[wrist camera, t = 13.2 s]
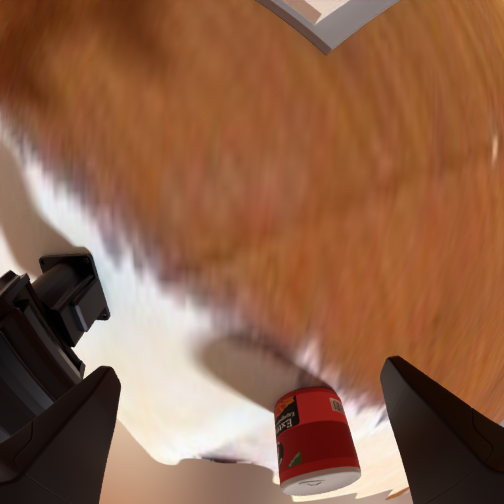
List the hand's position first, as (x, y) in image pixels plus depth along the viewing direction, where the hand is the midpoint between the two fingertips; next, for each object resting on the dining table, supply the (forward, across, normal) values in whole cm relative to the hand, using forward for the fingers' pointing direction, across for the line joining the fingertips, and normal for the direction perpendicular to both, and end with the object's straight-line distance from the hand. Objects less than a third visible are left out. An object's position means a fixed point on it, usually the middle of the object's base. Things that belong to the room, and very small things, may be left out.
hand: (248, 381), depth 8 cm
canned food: (+13, -6, +21) cm, 26 cm away
